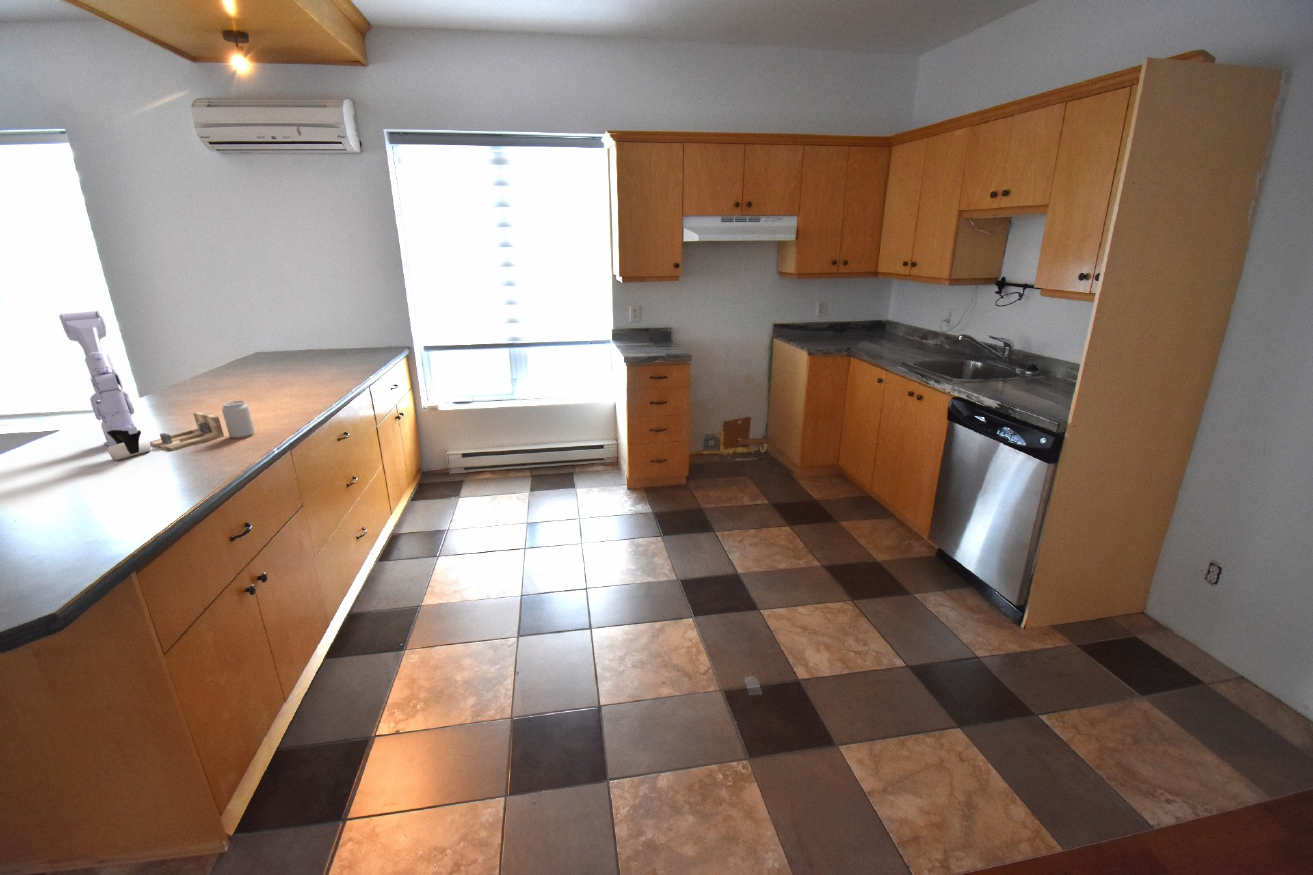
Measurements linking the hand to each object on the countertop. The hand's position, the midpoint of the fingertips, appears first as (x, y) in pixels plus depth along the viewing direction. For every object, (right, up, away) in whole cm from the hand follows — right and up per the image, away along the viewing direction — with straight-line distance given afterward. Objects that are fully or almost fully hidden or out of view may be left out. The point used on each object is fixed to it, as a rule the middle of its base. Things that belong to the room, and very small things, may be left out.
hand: (130, 451), depth 191 cm
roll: (0, -1, 0) cm, 1 cm away
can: (+24, +5, +17) cm, 30 cm away
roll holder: (+8, +4, +14) cm, 16 cm away
